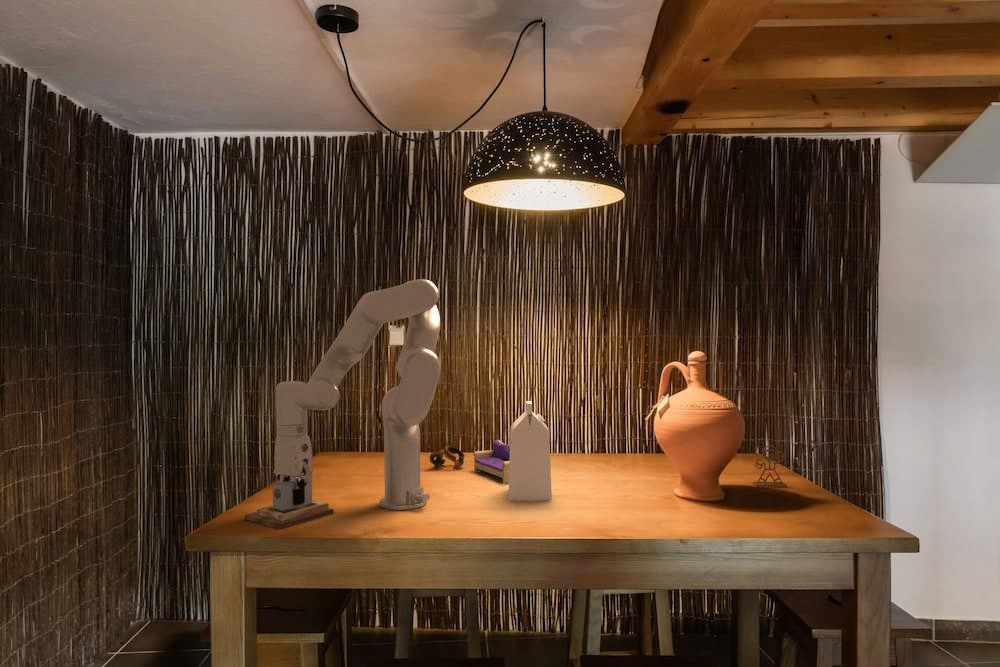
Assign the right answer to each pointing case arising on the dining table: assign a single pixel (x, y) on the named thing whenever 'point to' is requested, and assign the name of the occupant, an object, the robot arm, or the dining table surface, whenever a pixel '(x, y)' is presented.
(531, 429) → the milk
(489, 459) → the toy sofa
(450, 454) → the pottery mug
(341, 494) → the dining table surface
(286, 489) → the grey rectangular block
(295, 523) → the jig
